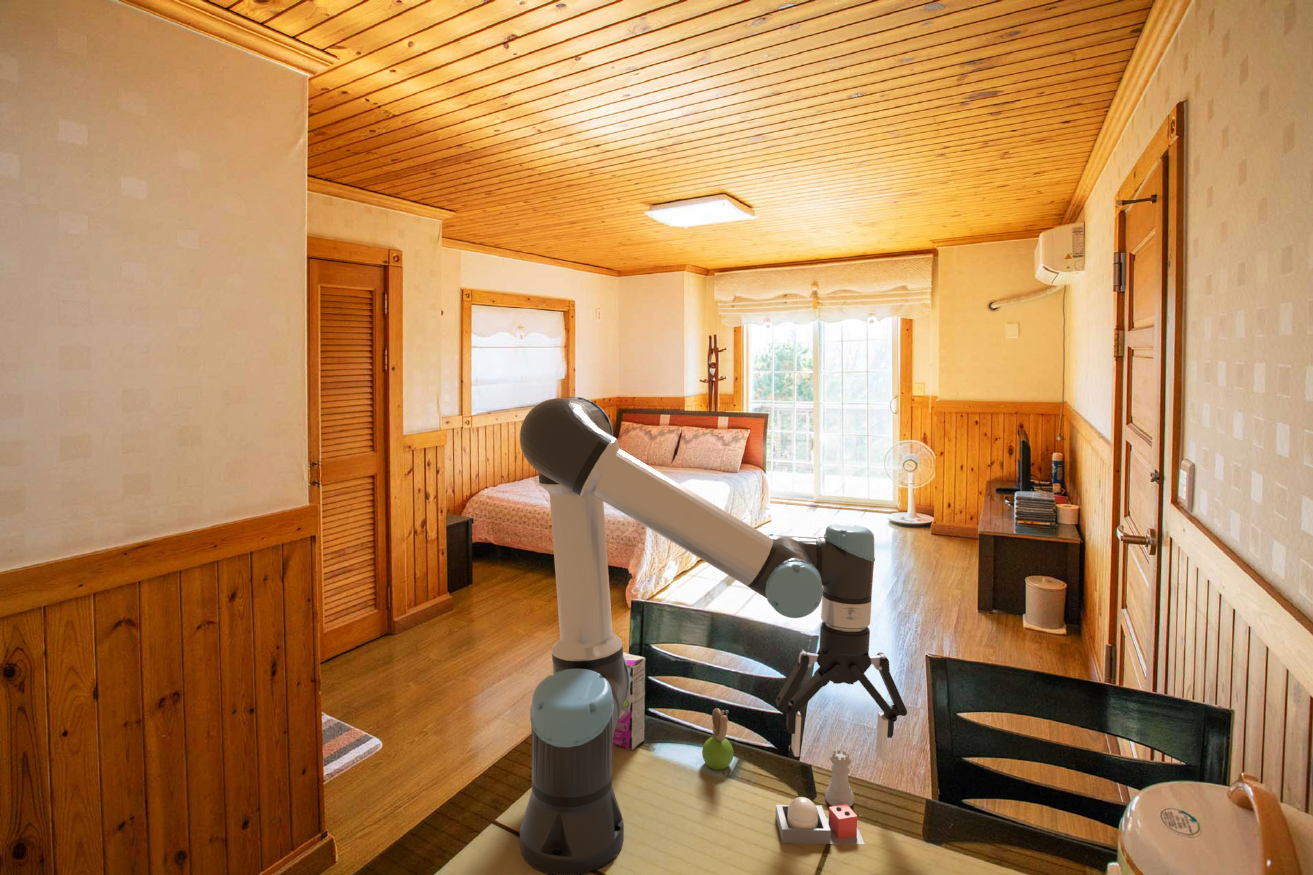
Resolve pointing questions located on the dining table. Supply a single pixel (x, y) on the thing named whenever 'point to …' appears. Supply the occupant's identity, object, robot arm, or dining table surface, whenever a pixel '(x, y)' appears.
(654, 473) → the robot arm
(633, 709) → the candy bar box
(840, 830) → the grey compartment tray
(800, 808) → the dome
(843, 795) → the rook chess piece
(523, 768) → the dining table surface
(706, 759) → the snail figurine
